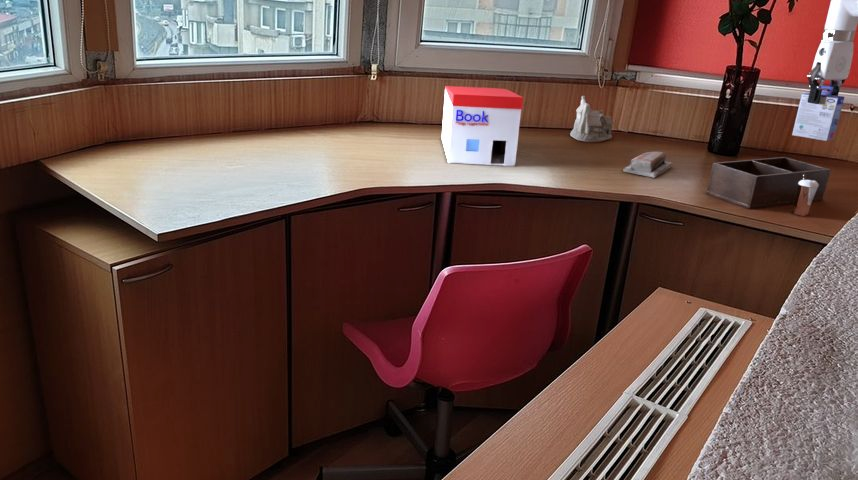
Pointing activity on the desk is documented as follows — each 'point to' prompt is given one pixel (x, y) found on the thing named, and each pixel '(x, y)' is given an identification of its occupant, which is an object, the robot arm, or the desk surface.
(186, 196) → the desk surface
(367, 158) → the desk surface
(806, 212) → the milkshake
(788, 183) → the divided storage box
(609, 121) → the ceramic cottage
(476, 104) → the bookstore
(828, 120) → the ink cartridge box
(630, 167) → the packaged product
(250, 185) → the desk surface
